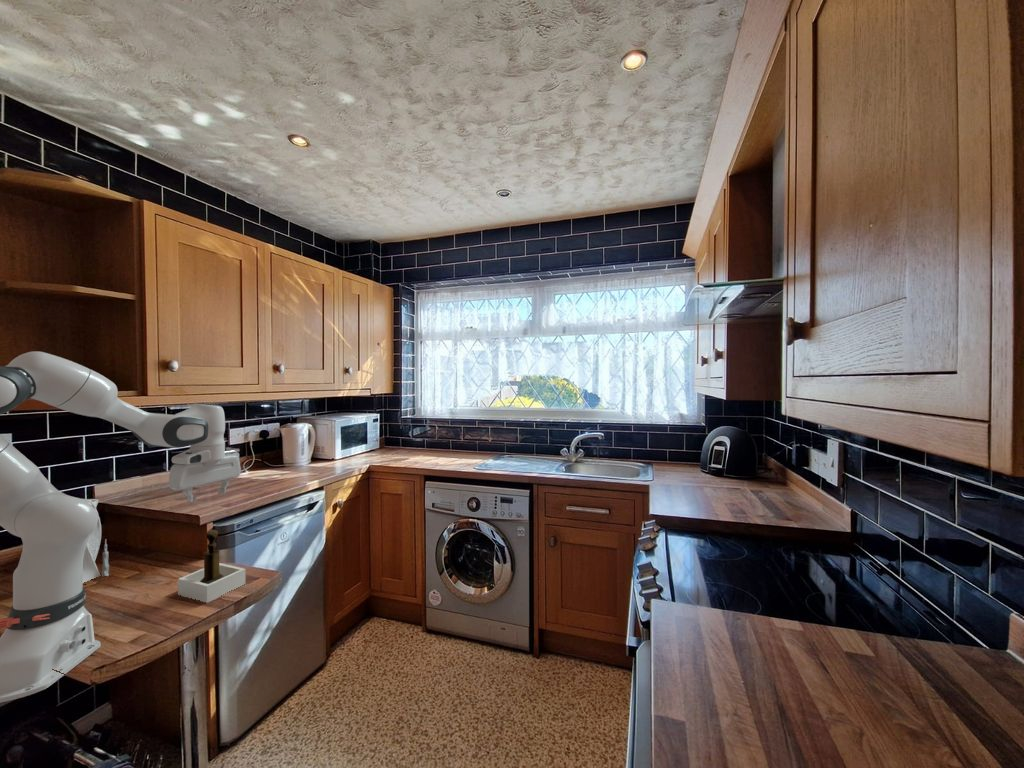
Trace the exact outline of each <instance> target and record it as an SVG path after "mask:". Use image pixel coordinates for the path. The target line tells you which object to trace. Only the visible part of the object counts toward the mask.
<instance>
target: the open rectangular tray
mask: <svg viewBox="0 0 1024 768" xmlns="http://www.w3.org/2000/svg"><path fill="white" fill-rule="evenodd" d="M219 574H221V575H223V576H224V577H223V578H221V579H219V580H217V581H214V582H212V583H210V584H206V583H202V582H200V581H201V580H202V579H203V578H204V567H203V568H201V569H199V570H196V571H193V572H191V573H189V574H186V575H183V576H182V577H179V578H178V579H177V595H178V596H180V595H181V596H180V597H184V598H187V597H188V599H191V598H192V600H195V599H196V601H198V600H200V601H199V602H203V603H205V602H206V604H207V603H210V602H213V601H214V600H216V599H218V598H220V597H222V596H224V595H226V594H228V593H230V592H232V591H234V589H235V590H236V588H237V589H239V588H240V586H241V587H242V585H243V586H245V585H246V568H243V567H239V566H234V565H230V564H226V563H221V562H219ZM244 584H245V585H244ZM238 587H239V588H238ZM231 590H232V591H231ZM229 591H230V592H229ZM227 592H228V593H227ZM225 593H226V594H225ZM223 594H224V595H223ZM221 595H222V596H221Z"/></svg>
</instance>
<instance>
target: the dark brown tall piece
mask: <svg viewBox="0 0 1024 768" xmlns="http://www.w3.org/2000/svg"><path fill="white" fill-rule="evenodd" d="M218 535H219V531H218V530H216V529H210V530H208V531H207V532H206V535H205V538H206V539H207V540H208V542H209V543H208V544H207V545H206V546H207V549H208V550H207V551H205V552H204V553H203V568H204V578H203V579H202V580H201V581H200V582H202V583H206V584H210V583H212V582H214V581H217V580H219V579H221V578H223V577H224V576H223V575H221V574H219V563H220V549H216V548H217V543H216V539H217V537H218Z"/></svg>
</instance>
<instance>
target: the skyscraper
mask: <svg viewBox="0 0 1024 768" xmlns="http://www.w3.org/2000/svg"><path fill="white" fill-rule="evenodd" d="M82 499H83V500H85V501H87V502H88V503H89V504H90V505H91V506H92V507H93V508H94V509H95V510H96V512H97V514H98V522H97V525H96V527H95V529H94V530H93V531H92V532H91V534H90V535H89V538H88V542H87V545H86V549H85V552H84V558H83V583H84V582H87V581H90V580H91V579H94V578H96V577H99V576H101V575H100V571H99V568H98V566H97V564H96V559H97V556H98V554H99V550H100V547H101V546H100V545H101V542H102V541H101V540H102V524H101V517H100V516H99V515H100V514H99V512H98V510H97V506H98V504H99V499H98V498H97V499H96V498H87V499H86V498H82ZM109 573H110V563H109V551H108V544H107V539H104V545H103V552H102V565H101V574H102V577H104V576H107V577H109V575H110V576H111V574H109Z"/></svg>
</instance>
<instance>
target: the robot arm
mask: <svg viewBox="0 0 1024 768" xmlns="http://www.w3.org/2000/svg"><path fill="white" fill-rule="evenodd" d="M118 392H119V391H118V387H117V385H116V384H115V382H113V381H112V380H110V379H109V378H107V377H105V376H104V375H102V374H100V373H99V372H97V371H95V370H93V369H90V368H88V367H86V366H84V365H82V364H79V363H77V362H74V361H72V360H70V359H66V358H64V357H61V356H58V355H55V354H51V353H48V352H44V351H28V352H25V353H21V354H20V355H18V356H17V357H15V358H13V359H12V360H11V361H10V362H9V363H8V364H7V365H5V366H4V365H3V366H2V365H0V415H2V414H5V413H8V412H10V411H11V410H14V409H15V408H17V407H18V406H19V405H21V404H23V403H25V401H27V400H29V399H31V400H34V401H35V400H36V401H38V402H42V403H45V404H47V405H49V406H52V407H55V408H57V409H59V410H62V411H66V412H69V413H73V414H76V415H81V416H85V417H90V418H99V419H102V420H104V421H108V422H109V423H111V424H114V425H117V426H119V427H121V428H123V429H126V430H128V431H130V432H131V433H132V434H133V435H134V436H135V437H136V438H137V439H138V440H139V441H140V442H142V443H143V444H145V445H147V446H149V447H150V446H151V447H165V448H174V449H175V448H176V449H178V448H179V449H181V448H184V447H188V446H190V447H189V449H187V450H184V451H182V452H180V453H178V454H176V455H174V456H172V457H171V462H172V464H173V465H172V466H171V467H170V470H169V476H168V486H169V488H170V489H171V490H173V491H181V490H182V492H183V493H184V495H185V496H186V502H187V503H193V502H196V501H197V495H196V494H193V493H192V491H193V489H194V488H195V487H199V486H204V485H209V484H213V483H217V482H220V483H221V484H220V487H219V488H217V495H223V494H226V493H227V487H228V486H229V484H230V481H231V480H230V479H234V478H238V477H240V475H241V473H242V472H241V471H242V469H241V462H240V453H239V452H238V451H237V450H235V449H231V450H226V441H225V438H224V437H225V436H224V434H225V431H226V417H225V415H226V414H225V411H224V408H223V407H222V406H221V405H219V404H216V403H206V402H197V403H193V405H192V406H190V407H188V408H186V409H185V410H183V411H180V412H178V413H175V414H168V413H161V412H148V411H144V410H143V409H142V408H141V409H140V408H139V407H137V406H134V405H132V404H130V403H129V402H126V401H124V400H122V399H121V398H119V397H118V395H119V393H118ZM83 499H84V498H80V497H75V496H71V495H68V494H66V493H64V492H62V491H60V490H59V489H57V488H56V487H55V486H54V485H53V484H52V483H51V482H50V481H49V480H48V478H47V477H45V476H44V473H42V472H41V470H40V468H39V467H38V466H37V465H36V464H35V463H34V462H33V461H31V460H30V459H28V458H27V457H26V456H25V455H24V454H23V453H21V451H19V450H18V449H17V448H16V447H15V446H14V445H12V444H11V443H10V442H8V440H6V439H5V438H4V437H3V436H1V435H0V527H2V528H3V529H4V530H5V531H7V532H8V533H9V534H11V535H12V536H15V537H18V538H21V541H22V551H21V554H20V559H19V561H18V564H17V567H16V568H15V570H14V571H13V574H12V606H11V607H10V609H9V611H8V614H7V617H5V618H4V617H3V618H0V629H4V628H5V630H4V632H3V633H2V634H1V636H0V703H6V702H9V701H14V700H17V699H22V698H25V697H27V696H28V697H29V696H31V695H34V694H36V693H39V692H41V691H44V690H46V689H47V688H49V687H50V686H52V685H53V684H54V683H56V682H57V681H59V680H60V679H61V678H62V677H64V676H65V675H66V674H68V673H69V672H70V671H71V670H72V669H74V668H75V667H76V666H78V665H79V664H80V663H82V662H83V661H85V660H86V658H88V657H89V656H91V655H92V654H93V653H94V652H96V651H97V650H98V649H99V648H101V647H102V645H101V641H100V640H97V639H95V633H94V623H93V616H92V613H90V612H89V610H87V608H86V607H85V606H84V605H85V604H86V598H87V593H86V588H85V587H84V585H83V558H84V552H85V549H86V545H87V542H88V538H89V535H90V534H91V532H92V531H93V530H94V529H95V527H96V525H97V522H98V515H99V513H98V514H97V512H98V511H97V512H96V510H95V509H94V508H93V507H92V506H91V505H90V504H89V503H88V502H87V501H85V500H83ZM52 669H54V670H57V671H60V672H61V673H64V674H65V675H64V674H61V673H59V672H56V671H54V670H52Z"/></svg>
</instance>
